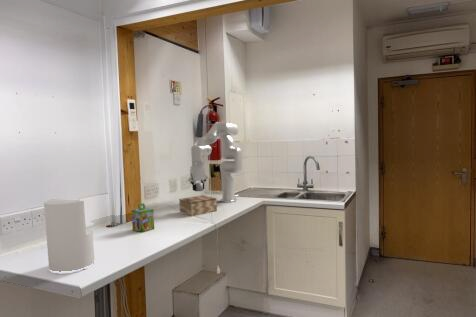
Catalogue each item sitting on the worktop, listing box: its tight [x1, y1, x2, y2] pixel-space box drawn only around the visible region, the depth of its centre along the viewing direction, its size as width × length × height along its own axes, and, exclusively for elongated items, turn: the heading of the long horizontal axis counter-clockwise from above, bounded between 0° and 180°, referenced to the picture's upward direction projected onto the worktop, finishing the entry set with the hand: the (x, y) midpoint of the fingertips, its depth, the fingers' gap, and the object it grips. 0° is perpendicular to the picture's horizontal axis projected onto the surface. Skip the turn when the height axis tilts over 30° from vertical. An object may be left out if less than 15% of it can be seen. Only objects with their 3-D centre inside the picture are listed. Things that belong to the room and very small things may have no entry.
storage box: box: [178, 199, 218, 217], centre depth 241 cm, size 20×16×8 cm
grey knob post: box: [195, 182, 204, 192], centre depth 240 cm, size 6×6×5 cm
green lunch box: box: [130, 203, 155, 233], centre depth 199 cm, size 9×9×15 cm
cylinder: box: [43, 199, 96, 272], centre depth 145 cm, size 17×17×28 cm
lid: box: [178, 194, 217, 204], centre depth 241 cm, size 20×16×1 cm
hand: (198, 189), depth 240 cm, fingers closed on grey knob post, 6 cm apart
